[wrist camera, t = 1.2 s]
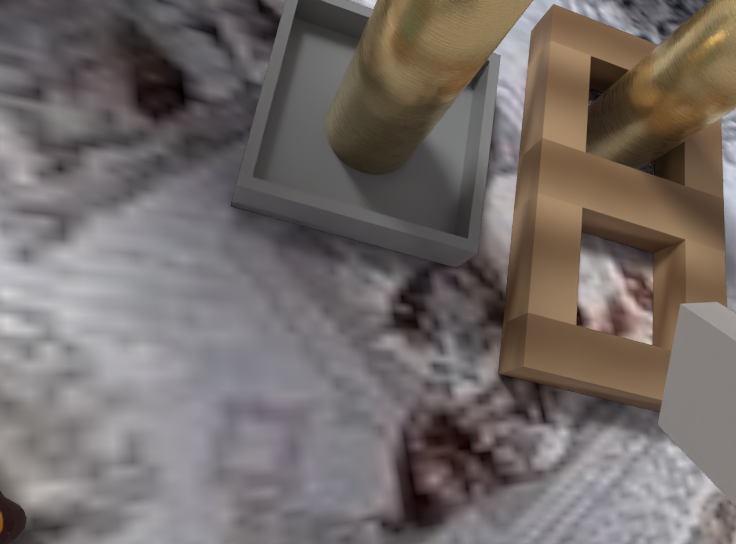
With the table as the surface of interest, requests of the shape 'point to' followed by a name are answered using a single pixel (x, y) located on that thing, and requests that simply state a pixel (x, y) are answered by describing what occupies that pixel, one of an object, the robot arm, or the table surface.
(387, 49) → the cylinder
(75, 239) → the table surface
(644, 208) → the wooden holder frame
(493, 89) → the grey square tray
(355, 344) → the table surface
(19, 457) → the table surface
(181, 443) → the table surface
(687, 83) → the cylinder
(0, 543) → the decorative lantern
